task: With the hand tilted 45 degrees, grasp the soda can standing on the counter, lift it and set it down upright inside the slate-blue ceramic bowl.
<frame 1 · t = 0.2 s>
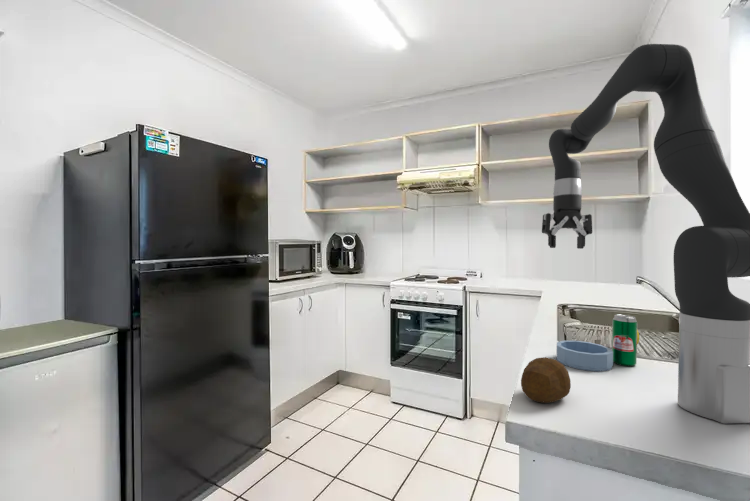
hand: (566, 248, 106), 29 cm above the counter, tool pointing down, fingers open, 8 cm apart
lemon: (626, 350, 100), on the counter
smoothie: (693, 356, 95), on the counter
soda can: (623, 364, 88), on the counter
bowl: (583, 362, 88), on the counter
potato: (545, 398, 68), on the counter
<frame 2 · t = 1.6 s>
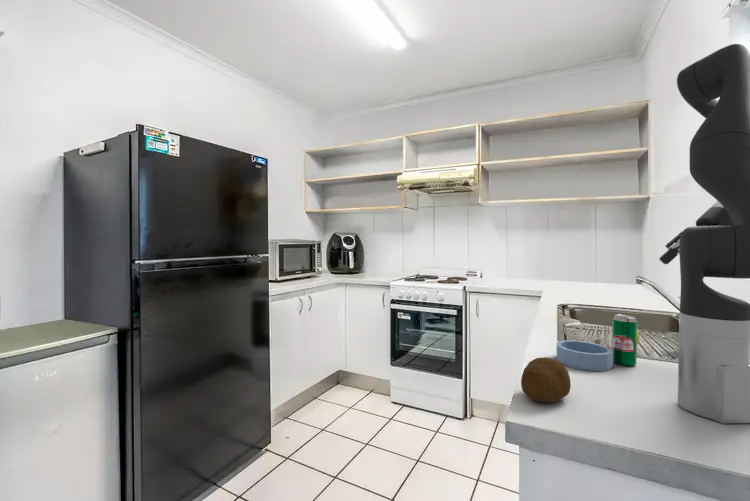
hand: (675, 262, 87), 26 cm above the counter, tool tilted 45°, fingers open, 8 cm apart
nothing on the counter moved.
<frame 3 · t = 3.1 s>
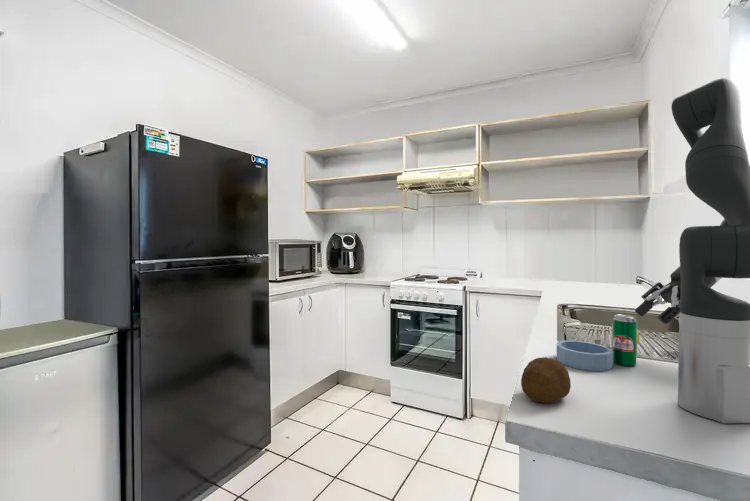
hand: (649, 317, 87), 12 cm above the counter, tool tilted 45°, fingers open, 8 cm apart
nothing on the counter moved.
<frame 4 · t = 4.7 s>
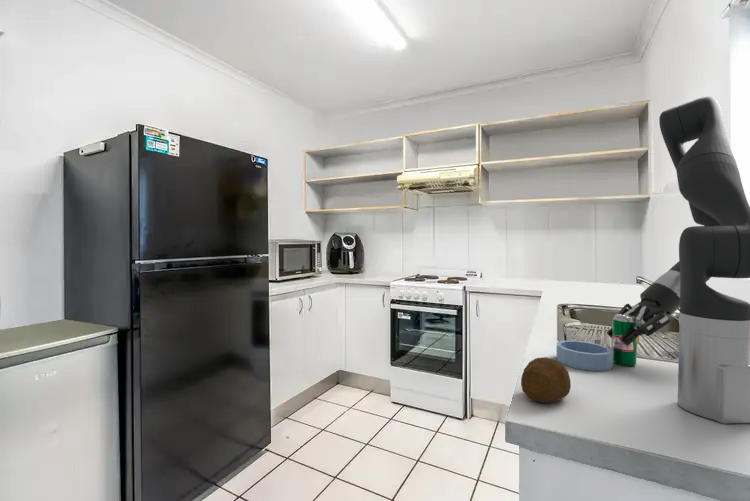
hand: (616, 338, 88), 6 cm above the counter, tool tilted 45°, fingers closed on soda can, 5 cm apart
soda can: (623, 364, 88), on the counter, touching gripper
everything else where it was.
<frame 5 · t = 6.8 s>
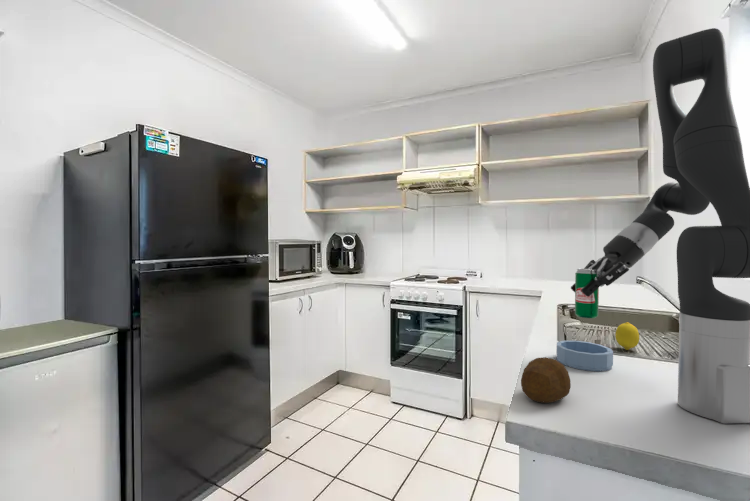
hand: (579, 292, 88), 18 cm above the counter, tool tilted 45°, fingers closed on soda can, 5 cm apart
soda can: (586, 317, 88), point 12 cm above the counter, touching gripper
everything else where it was.
when the fingers open (8 cm above the counter, at t = 9.1 s): soda can drops 1 cm, resting on bowl.
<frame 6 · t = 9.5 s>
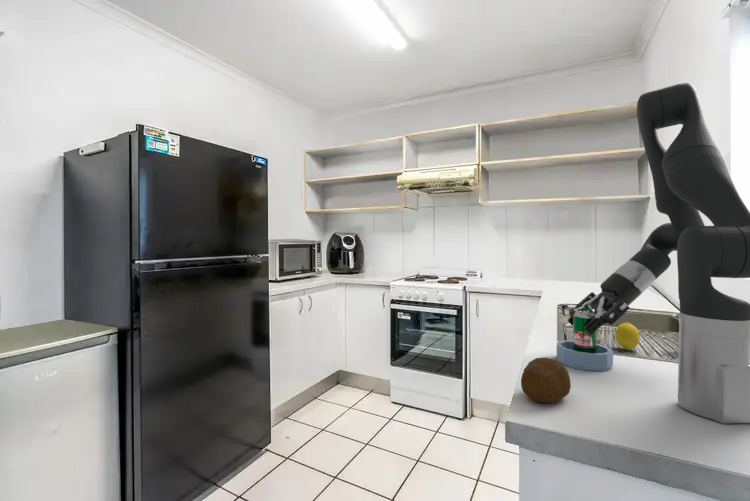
hand: (578, 327, 88), 9 cm above the counter, tool tilted 45°, fingers open, 8 cm apart
soda can: (584, 360, 88), point 1 cm above the counter, touching bowl
everything else where it was.
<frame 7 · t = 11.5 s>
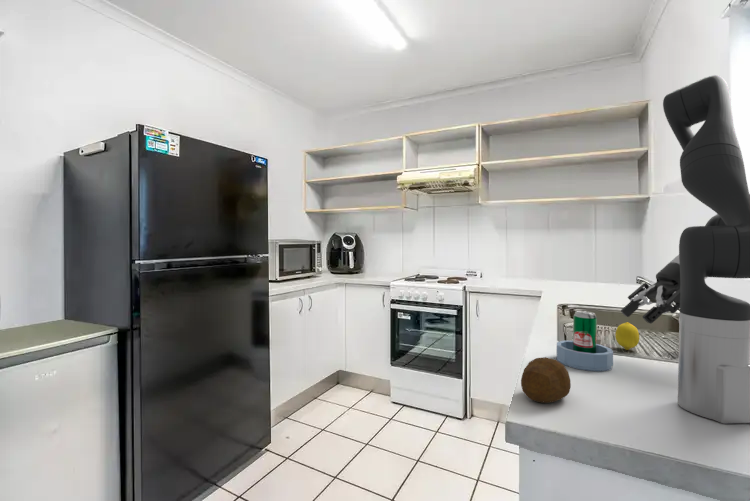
hand: (634, 317, 87), 12 cm above the counter, tool tilted 45°, fingers open, 8 cm apart
nothing on the counter moved.
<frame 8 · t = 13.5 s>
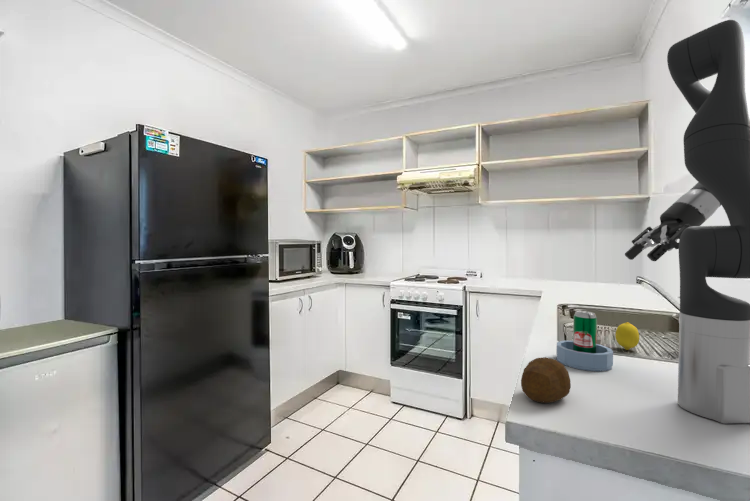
hand: (638, 258, 87), 27 cm above the counter, tool tilted 45°, fingers open, 8 cm apart
nothing on the counter moved.
at the end: soda can 0.1 cm off-centre on the bowl, point 0.6 cm above the bowl's base; soda can tilted 0°; the gripper is holding nothing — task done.
